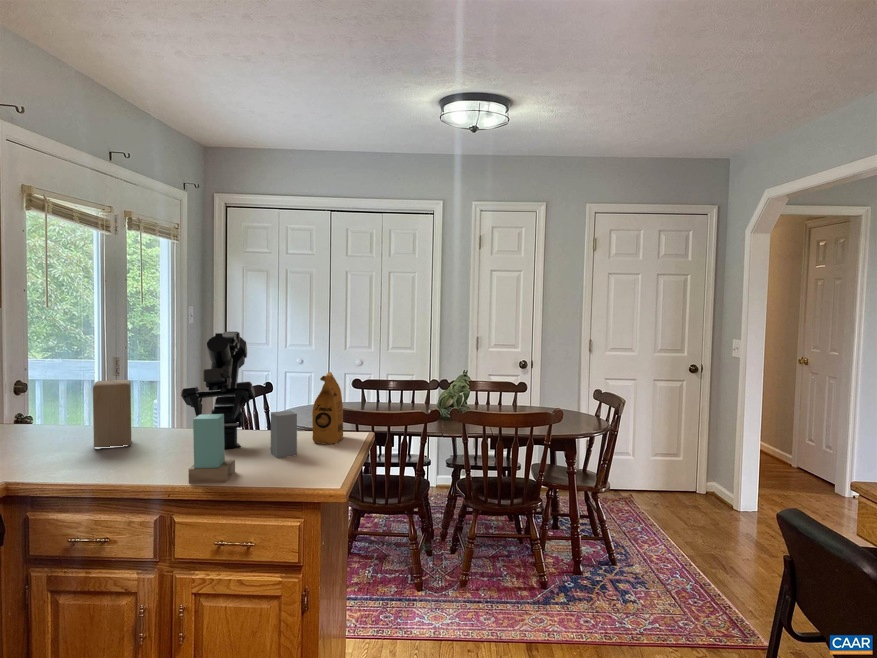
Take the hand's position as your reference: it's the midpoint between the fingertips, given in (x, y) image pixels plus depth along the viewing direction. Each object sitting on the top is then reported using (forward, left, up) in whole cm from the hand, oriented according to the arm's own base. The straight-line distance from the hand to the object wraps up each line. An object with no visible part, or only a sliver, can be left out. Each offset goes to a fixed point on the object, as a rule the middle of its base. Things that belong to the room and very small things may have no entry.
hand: (216, 420), depth 157 cm
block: (-42, -22, -13) cm, 49 cm away
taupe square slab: (+8, -3, -14) cm, 16 cm away
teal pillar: (+9, -4, -10) cm, 14 cm away
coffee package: (-14, +38, -13) cm, 43 cm away
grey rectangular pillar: (-4, +20, -13) cm, 24 cm away
